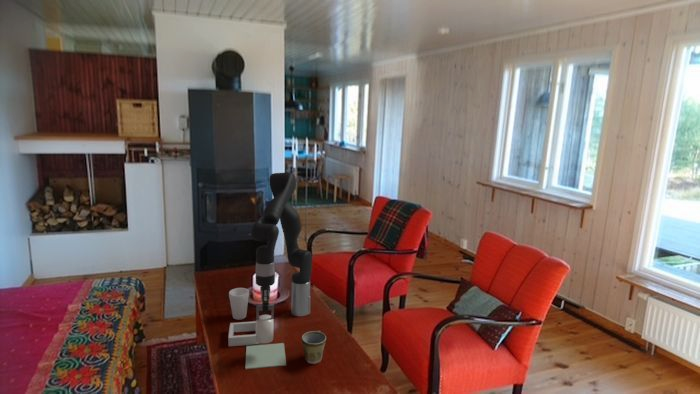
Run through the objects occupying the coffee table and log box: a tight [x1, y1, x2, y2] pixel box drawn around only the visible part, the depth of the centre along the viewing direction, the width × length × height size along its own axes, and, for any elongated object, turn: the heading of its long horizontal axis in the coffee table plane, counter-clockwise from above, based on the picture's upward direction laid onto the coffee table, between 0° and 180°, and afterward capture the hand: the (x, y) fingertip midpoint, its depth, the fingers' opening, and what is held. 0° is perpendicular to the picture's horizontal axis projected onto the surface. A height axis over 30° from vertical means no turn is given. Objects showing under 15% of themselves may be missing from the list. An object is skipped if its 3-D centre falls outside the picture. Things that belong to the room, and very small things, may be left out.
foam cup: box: [228, 287, 250, 321], centre depth 205 cm, size 10×9×13 cm
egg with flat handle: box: [255, 303, 275, 344], centre depth 171 cm, size 7×7×15 cm
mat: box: [244, 342, 287, 370], centre depth 174 cm, size 16×16×1 cm
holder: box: [227, 320, 260, 347], centre depth 187 cm, size 13×13×4 cm
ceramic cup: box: [301, 329, 327, 365], centre depth 174 cm, size 13×10×10 cm
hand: (265, 312), depth 171 cm, fingers closed on egg with flat handle, 1 cm apart
